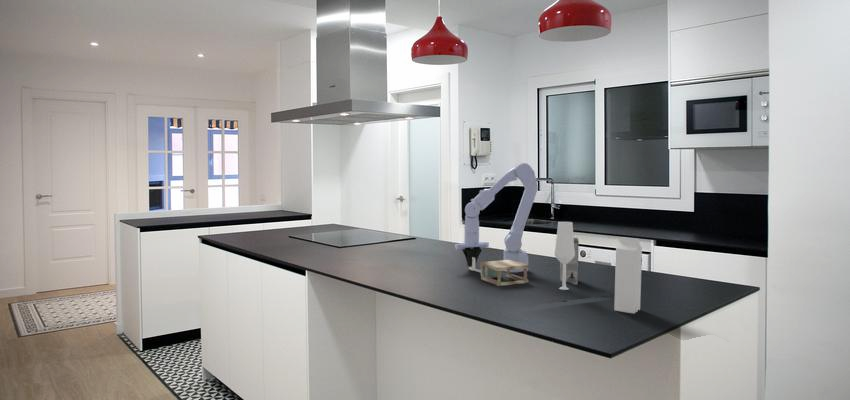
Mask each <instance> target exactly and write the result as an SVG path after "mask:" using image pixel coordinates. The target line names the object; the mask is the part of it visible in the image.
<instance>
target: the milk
mask: <svg viewBox="0 0 850 400" xmlns="http://www.w3.org/2000/svg"><path fill="white" fill-rule="evenodd" d="M642 255H643V248H642V246H641V244H640V238H638V237H637V238H636V237H635V238H634V237H625V236H624V237H622V236H621V237H619V239H618V244H617V246H616V248H615V269H614V271H615V273H614V274H615V275H614V277H615V278H614V306H613V307H614V309H613V310H614V312H616V311H617V312H621V313H628V314H636V313H638V312H639V311H641V296H642V295H641V294H642V293H641V291H642V290H641V289H642V288H641V287H642V260H643V259H642V258H643V257H642ZM638 310H639V311H638Z"/></svg>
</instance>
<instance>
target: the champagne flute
mask: <svg viewBox="0 0 850 400" xmlns="http://www.w3.org/2000/svg"><path fill="white" fill-rule="evenodd" d="M574 238H575V237H574V225H573V222H572V221H558V222H557V231H556V238H555V250H554V256H555V258H556V259H557V260H558V262H559V263H560V262H561V263H562V264H563V277H562V281H561V282H562V283H561V287H559V288H558V289H559V290H565V291H566V290H568V291H569V290H570V288H569V287H567V282H566V264H567V263H569V262H570V261H571V260H572V259H573V258H574V256H575V251H574Z"/></svg>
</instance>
